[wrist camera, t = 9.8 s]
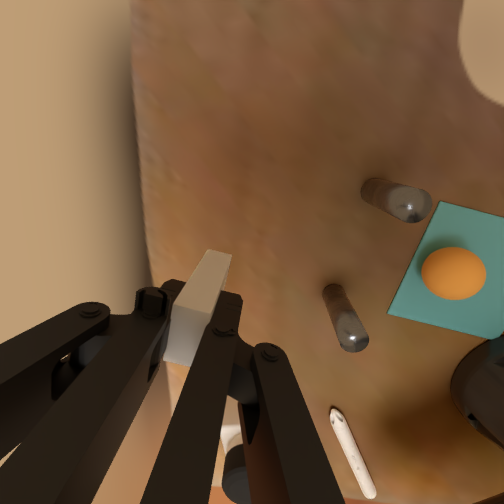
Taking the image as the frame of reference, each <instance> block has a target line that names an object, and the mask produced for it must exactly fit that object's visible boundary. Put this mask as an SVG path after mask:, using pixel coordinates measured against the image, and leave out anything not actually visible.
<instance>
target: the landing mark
mask: <svg viewBox="0 0 504 504" xmlns="http://www.w3.org/2000/svg"><path fill="white" fill-rule="evenodd" d="M446 247H459V248H463V249H466V250H469V251H471V252H472V253H474V254H475V255H477V256H478V257H479V258H480V260H481V261H482V262H483V264H484V266H485V269H486V280H485V283H484V285H483V287H482V288H481V289H480V291H479V292H477V293H476V294H475V295H473V296H471V297H469V298H466V299H462V300H449V299H444V298H441V297H439V296H437V295H435V294H434V293H432V292H431V291H430V290H429V289H428V288H427V287H426V285H425V284H424V282H423V279H422V275H421V270H422V266H423V263H424V261H425V260H426V258H427V257H428V256H429V255H430V254H431V253H433V252H435V251H436V250H439V249H442V248H446ZM387 314H391V315H395V316H399V317H403V318H407V319H411V320H415V321H419V322H423V323H427V324H431V325H435V326H439V327H443V328H447V329H451V330H455V331H459V332H463V333H467V334H471V335H475V336H479V337H483V338H487V339H491V340H492V339H495V338H497V337H500V335H501V334H502V332H503V331H504V218H503V217H499V216H495V215H491V214H487V213H484V212H480V211H476V210H472V209H468V208H464V207H461V206H457V205H453V204H449V203H445V202H441V201H439V203H438V206H437V208H436V210H435V212H434V214H433V216H432V218H431V220H430V222H429V225H428V227H427V229H426V231H425V233H424V235H423V237H422V239H421V241H420V244H419V246H418V248H417V250H416V252H415V254H414V256H413V258H412V260H411V263H410V265H409V267H408V269H407V271H406V273H405V275H404V277H403V279H402V282H401V284H400V286H399V288H398V290H397V292H396V294H395V296H394V298H393V301H392V303H391V305H390V307H389V309H388V311H387Z"/></svg>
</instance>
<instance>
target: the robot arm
mask: <svg viewBox="0 0 504 504" xmlns="http://www.w3.org/2000/svg"><path fill="white" fill-rule="evenodd" d="M231 258H232V255H231V254H227V253H223V252H219V251H215V250H211V249H208V250H207V251H206V253H205V254H204V256H203V257H202V259H201V261H200V262H199V264H198V265H197V267H196V268H195V270H194V272H193V273H192V275H191V276H190V278H189V279H188V281H187V282H183V281H179V280H175V279H171V280H169V281H166V282H164V284H163V285H162V286H161V287H160V288H158V287H145V288H142V289H139V290H138V291H137V292H136V300H135V308H134V311H133V312H132V313H131V314H128V315H113V314H110V308H109V307H108V306H106V305H105V304H103V303H98V302H86V303H81V304H78V305H76V306H74V307H72V308H70V309H68V310H66V311H64V312H62V313H60V314H58V315H56V316H54V317H52V318H50V319H48V320H46V321H44V322H43V323H41V324H39V325H37V326H35V327H33V328H31V329H29V330H27V331H25V332H23V333H21V334H19V335H17V336H15V337H14V338H11V339H9V340H7V341H5V342H4V343H2V344H0V460H1V459H2V458H3V457H5V456H6V455H7V454H8V453H9V452H10V451H12V450H13V449H14V448H15V447H16V446H18V445H19V444H20V443H21V444H20V445H19V446H18V447H17V448H16V449H15V451H14V452H13V453H12V454H11V455H10V457H9V458H8V459H7V460H6V461H5V462H4V464H3V465H2V466H1V467H0V504H91V503H92V501H93V499H94V496H95V495H96V493H97V491H98V489H99V487H100V485H101V483H102V481H103V479H104V477H105V475H106V473H107V471H108V469H109V467H110V465H111V463H112V461H113V459H114V457H115V455H116V453H117V451H118V449H119V447H120V445H121V443H122V441H123V439H124V437H125V435H126V433H127V431H128V429H129V427H130V425H131V423H132V422H133V420H134V417H135V416H136V414H137V411H138V410H139V408H140V406H141V404H142V402H143V399H144V398H145V396H146V394H147V392H148V390H149V388H150V386H151V384H152V382H153V380H154V378H155V376H156V374H157V372H158V370H159V366H160V360H161V358H162V356H163V354H164V359H163V360H164V361H168V362H172V363H176V364H180V365H185V366H189V367H190V370H189V373H188V375H187V378H186V381H185V383H184V386H183V389H182V391H181V394H180V397H179V400H178V402H177V405H176V408H175V410H174V413H173V416H172V418H171V421H170V424H169V426H168V429H167V432H166V435H165V437H164V440H163V443H162V445H161V448H160V451H159V454H158V456H157V459H156V462H155V464H154V467H153V470H152V472H151V475H150V478H149V480H148V483H147V486H146V488H145V491H144V494H143V497H142V499H141V502H140V504H208V502H209V495H210V490H211V485H212V479H213V473H214V468H215V462H216V457H217V451H218V445H219V440H220V434H221V428H222V423H223V417H224V411H225V406H226V400H227V395H228V396H230V397H232V398H233V399H235V400H237V401H238V404H237V406H238V413H239V420H240V427H241V434H242V441H243V448H244V455H245V462H246V469H247V476H248V483H249V490H250V497H251V504H345V501H344V499H343V496H342V494H341V491H340V489H339V486H338V484H337V481H336V478H335V476H334V473H333V471H332V468H331V466H330V463H329V461H328V458H327V456H326V453H325V451H324V448H323V446H322V443H321V441H320V438H319V436H318V433H317V431H316V428H315V426H314V423H313V421H312V418H311V415H310V413H309V410H308V408H307V405H306V403H305V400H304V398H303V395H302V393H301V390H300V388H299V385H298V383H297V380H296V378H295V375H294V373H293V370H292V368H291V365H290V363H289V360H288V358H287V355H286V354H285V352H284V351H283V350H282V349H281V348H280V347H278V346H276V345H274V344H271V343H259V344H257V345H256V346H255V347H253V346H251V345H249V344H247V343H245V342H244V341H243V340H242V339H241V338H240V336H239V334H238V327H239V321H240V315H241V310H242V304H243V300H242V298H241V296H240V295H238V294H234V293H230V292H226V291H224V288H225V284H226V279H227V275H228V271H229V267H230V263H231ZM164 352H165V353H164ZM66 355H68V356H67V357H65V356H66ZM63 357H65V358H64V359H62V358H63ZM61 359H62V360H61ZM451 395H452V399H453V401H454V403H455V405H456V407H457V408H458V409H459V411H460V412H461V413H462V415H463V416H464V417H465V419H466V420H467V421H468V422H469V423H470V424H471V425H472V426H473V427H474V428H475V429H476V430H478V431H479V432H480V433H481V434H483V435H484V436H485V437H486V438H488V439H489V440H490V441H492V442H493V443H494V444H495V445H497V446H498V447H499V448H501V449H502V450H503V451H504V335H503V336H500V337H497V338H495V339H492V340H490V341H488V342H486V343H484V344H482V345H481V346H479V347H478V348H476V349H475V350H473V351H472V352H471V353H470V354H469V355H468V356H467V357H466V358H465V359H464V360H463V361H462V362H461V363H460V365H459V366H458V368H457V369H456V371H455V373H454V376H453V378H452V383H451ZM473 504H504V492H503V493H500V494H498V495H495V496H492V497H490V498H487V499H484V500H482V501H479V502H476V503H473Z"/></svg>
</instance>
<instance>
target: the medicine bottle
mask: <svg viewBox="0 0 504 504" xmlns="http://www.w3.org/2000/svg"><path fill="white" fill-rule="evenodd" d="M237 404H238V401H237V400H235V399H233V398H232V397H230V396H228V395H227V400H226V406H225V411H224V417H223V423H222V428H221V434H220V436H221V440H222V443H223V447H224V451H225V455H226V457H225V464H224V471H223V478H222V488H223V491H224V492H225V494H226V496H227V497H228V498H229V499H230V500H231V501H233V502H234V503H237V504H251V497H250V490H249V483H248V476H247V469H246V462H245V455H244V448H243V441H242V434H241V427H240V420H239V413H238V406H237Z"/></svg>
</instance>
